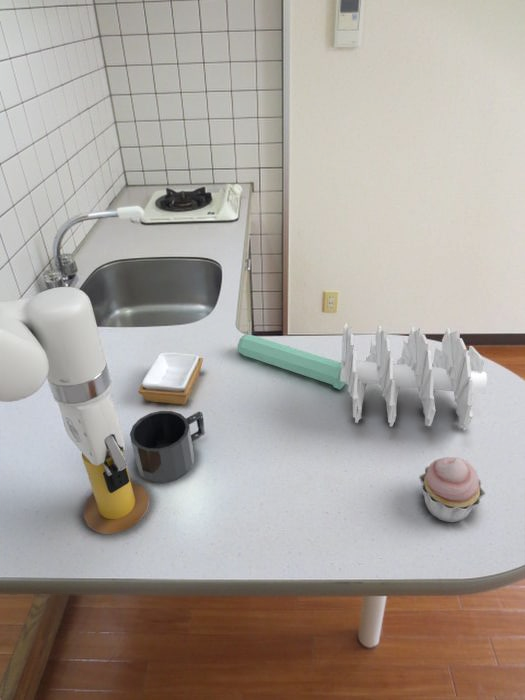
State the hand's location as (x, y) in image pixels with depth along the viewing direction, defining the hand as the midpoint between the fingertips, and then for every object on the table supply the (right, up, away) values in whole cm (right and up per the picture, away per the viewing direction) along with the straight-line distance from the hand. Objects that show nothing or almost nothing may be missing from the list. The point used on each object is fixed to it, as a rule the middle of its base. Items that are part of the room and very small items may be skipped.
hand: (108, 474), depth 79 cm
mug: (+8, 0, +13) cm, 15 cm away
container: (+29, +15, +33) cm, 46 cm away
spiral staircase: (+50, +7, +20) cm, 54 cm away
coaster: (0, -6, +4) cm, 8 cm away
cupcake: (+51, -6, +2) cm, 52 cm away
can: (0, -6, +4) cm, 7 cm away
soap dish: (+5, +11, +29) cm, 31 cm away
